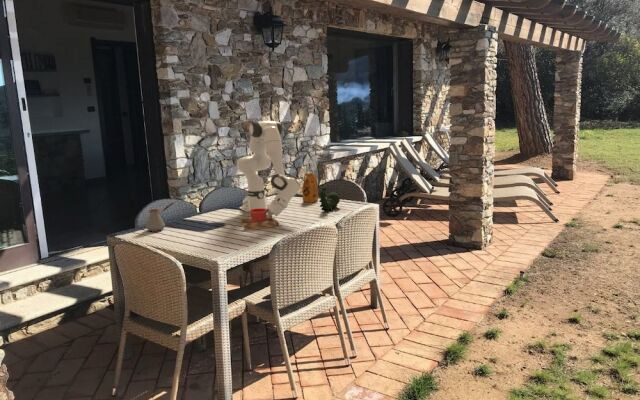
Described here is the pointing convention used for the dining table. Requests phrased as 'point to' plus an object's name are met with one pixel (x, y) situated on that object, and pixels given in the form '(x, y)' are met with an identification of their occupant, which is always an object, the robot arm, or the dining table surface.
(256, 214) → the flower pot
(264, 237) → the dining table surface
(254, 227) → the brown wooden u-shaped frame
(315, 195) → the coffee package
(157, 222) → the coffee pot
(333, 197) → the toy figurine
